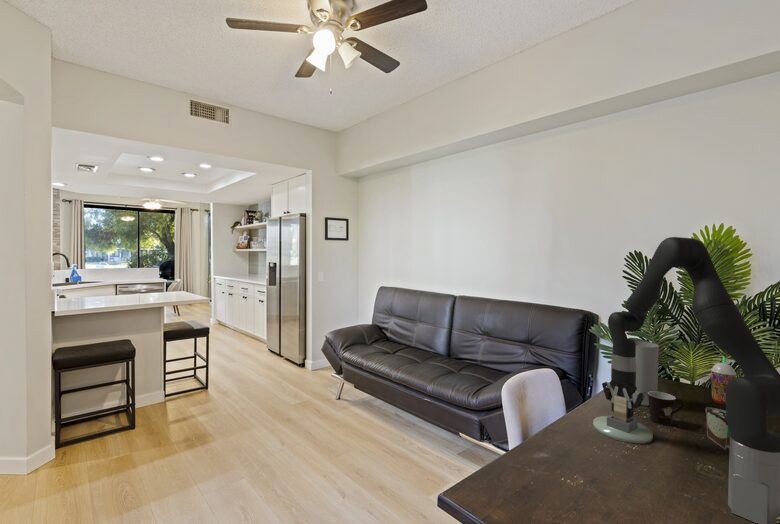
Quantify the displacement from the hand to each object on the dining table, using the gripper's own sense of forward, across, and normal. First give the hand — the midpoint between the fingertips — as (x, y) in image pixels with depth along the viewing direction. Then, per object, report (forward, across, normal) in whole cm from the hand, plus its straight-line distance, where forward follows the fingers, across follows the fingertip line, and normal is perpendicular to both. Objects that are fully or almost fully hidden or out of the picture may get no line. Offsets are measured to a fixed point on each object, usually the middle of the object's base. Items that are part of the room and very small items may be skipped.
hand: (622, 415), depth 133 cm
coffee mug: (+6, +6, +22) cm, 24 cm away
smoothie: (+6, +12, +67) cm, 68 cm away
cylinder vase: (+6, -9, +38) cm, 40 cm away
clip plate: (+6, 0, 0) cm, 6 cm away
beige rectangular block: (+3, 0, 0) cm, 3 cm away
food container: (+6, +24, +20) cm, 32 cm away
